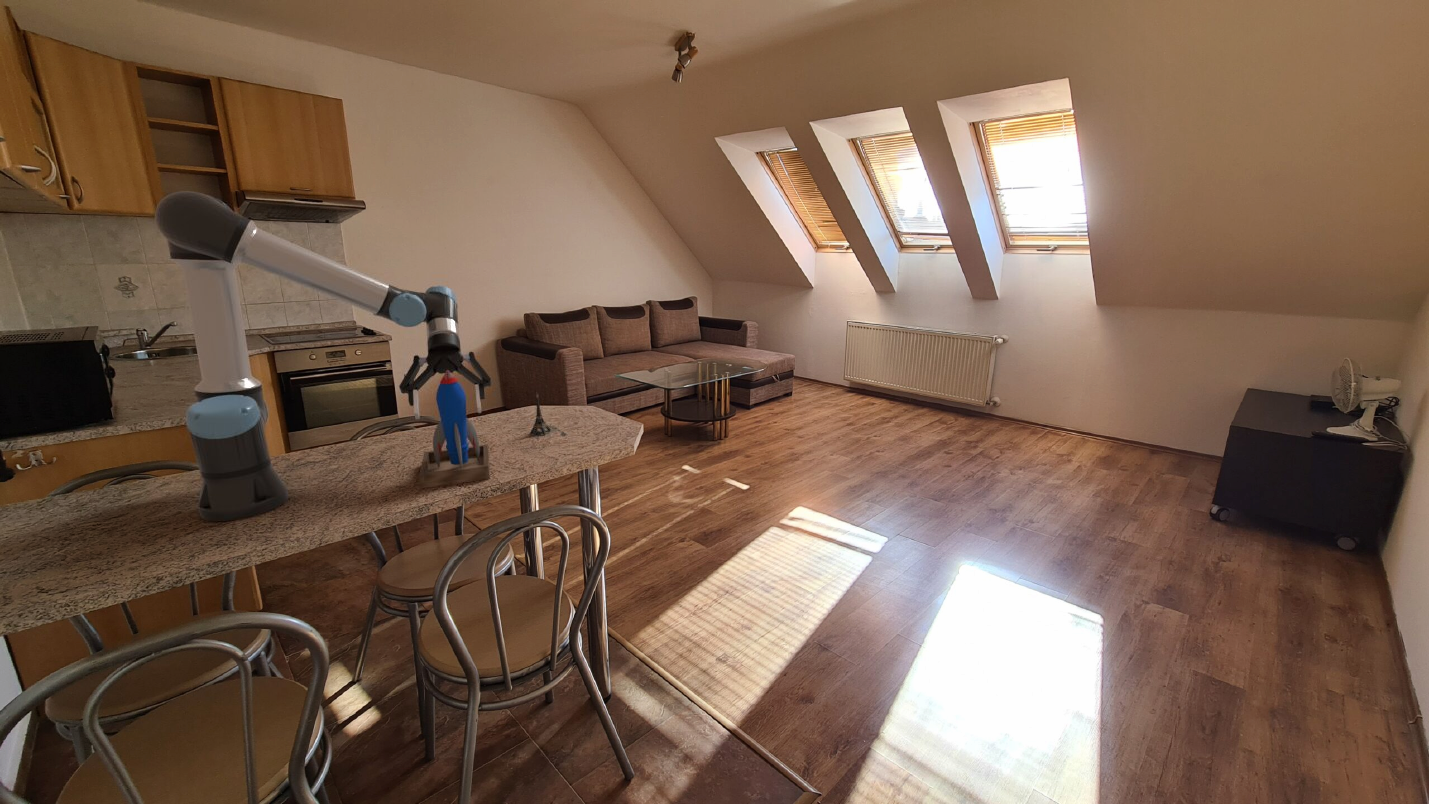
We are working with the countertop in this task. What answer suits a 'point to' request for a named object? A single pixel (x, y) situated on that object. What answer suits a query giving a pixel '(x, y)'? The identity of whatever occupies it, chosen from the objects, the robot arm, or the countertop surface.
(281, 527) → the countertop surface
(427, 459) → the cradle
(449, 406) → the toy rocket
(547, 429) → the eiffel tower figurine
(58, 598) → the countertop surface
